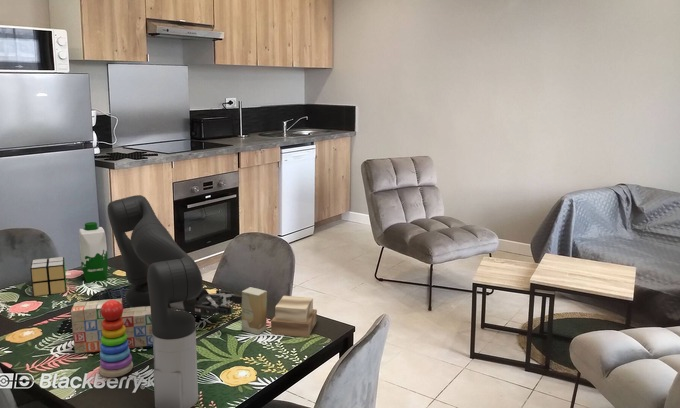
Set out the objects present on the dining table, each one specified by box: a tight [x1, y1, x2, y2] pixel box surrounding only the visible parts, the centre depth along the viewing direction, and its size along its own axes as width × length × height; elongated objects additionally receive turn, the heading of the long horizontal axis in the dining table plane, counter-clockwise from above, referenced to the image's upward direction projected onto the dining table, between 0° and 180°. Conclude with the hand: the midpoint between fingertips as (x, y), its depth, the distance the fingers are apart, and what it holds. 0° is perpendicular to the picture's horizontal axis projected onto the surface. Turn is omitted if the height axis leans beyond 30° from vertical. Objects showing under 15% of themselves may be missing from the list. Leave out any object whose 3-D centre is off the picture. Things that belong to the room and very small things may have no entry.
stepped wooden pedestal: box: [270, 295, 318, 338], centre depth 170 cm, size 11×11×8 cm
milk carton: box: [78, 221, 109, 283], centre depth 207 cm, size 9×9×20 cm
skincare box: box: [241, 286, 268, 335], centre depth 167 cm, size 6×4×12 cm
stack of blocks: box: [70, 298, 153, 354], centre depth 157 cm, size 21×6×12 cm, turn 106°
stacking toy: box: [98, 299, 134, 378], centre depth 142 cm, size 8×8×19 cm
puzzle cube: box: [29, 256, 67, 298], centre depth 196 cm, size 10×10×10 cm
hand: (237, 305), depth 168 cm, fingers open, 8 cm apart
